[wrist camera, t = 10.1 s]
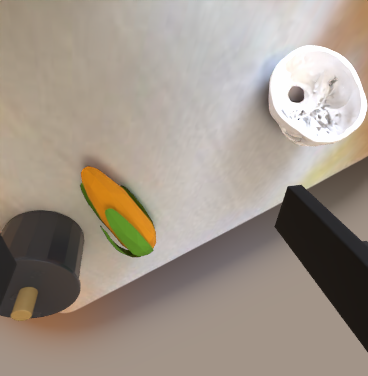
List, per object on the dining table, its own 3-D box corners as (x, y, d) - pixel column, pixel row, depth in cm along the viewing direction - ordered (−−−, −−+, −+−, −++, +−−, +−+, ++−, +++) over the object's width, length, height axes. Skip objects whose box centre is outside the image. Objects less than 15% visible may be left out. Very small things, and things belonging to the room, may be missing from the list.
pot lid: (-46, 261, 31) (-68, 295, 27) (69, 245, 34) (64, 274, 30) (-3, 318, 39) (-16, 350, 35) (88, 301, 42) (85, 330, 38)
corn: (132, 276, 43) (52, 198, 31) (127, 245, 49) (59, 169, 37) (170, 256, 43) (104, 170, 31) (160, 227, 49) (103, 146, 37)
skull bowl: (288, 161, 44) (316, 166, 32) (243, 96, 43) (255, 76, 31) (343, 125, 42) (394, 116, 30) (297, 56, 41) (330, 19, 29)
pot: (-10, 215, 39) (-42, 267, 31) (75, 206, 41) (66, 252, 34) (18, 266, 46) (-2, 319, 38) (89, 256, 49) (84, 303, 41)
